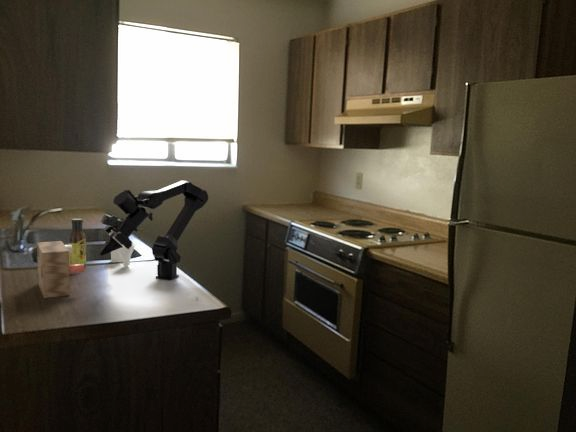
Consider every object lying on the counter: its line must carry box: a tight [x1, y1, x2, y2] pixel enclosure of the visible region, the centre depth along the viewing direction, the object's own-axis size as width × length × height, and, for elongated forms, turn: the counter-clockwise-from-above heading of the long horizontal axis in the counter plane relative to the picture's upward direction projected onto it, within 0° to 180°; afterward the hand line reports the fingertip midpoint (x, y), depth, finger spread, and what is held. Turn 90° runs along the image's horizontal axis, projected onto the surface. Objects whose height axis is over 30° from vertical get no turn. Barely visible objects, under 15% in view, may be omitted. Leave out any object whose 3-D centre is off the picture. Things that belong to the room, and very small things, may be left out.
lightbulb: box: [119, 242, 135, 267], centre depth 216 cm, size 6×6×11 cm
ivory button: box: [64, 244, 72, 253], centre depth 188 cm, size 7×3×3 cm, turn 120°
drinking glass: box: [110, 249, 123, 263], centre depth 225 cm, size 7×7×10 cm
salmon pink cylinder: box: [69, 264, 86, 275], centre depth 179 cm, size 7×3×3 cm, turn 120°
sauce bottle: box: [68, 218, 87, 269], centre depth 210 cm, size 6×6×20 cm
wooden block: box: [36, 240, 71, 299], centre depth 182 cm, size 8×18×15 cm, turn 30°
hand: (100, 254), depth 183 cm, fingers closed
